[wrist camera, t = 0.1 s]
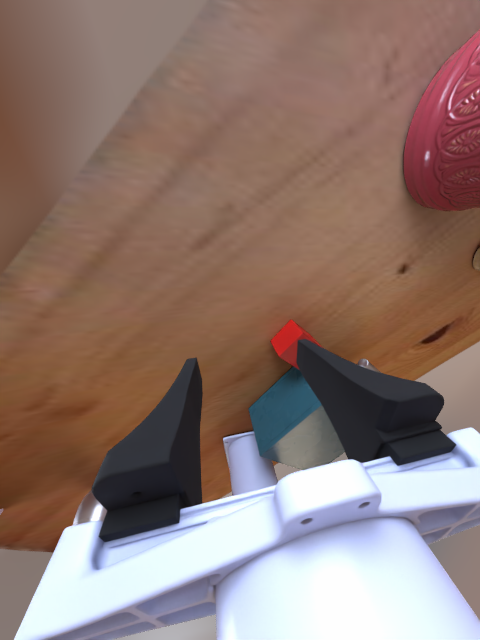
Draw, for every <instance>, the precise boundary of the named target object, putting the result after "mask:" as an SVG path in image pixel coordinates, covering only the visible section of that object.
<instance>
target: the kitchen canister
mask: <svg viewBox="0 0 480 640" xmlns="http://www.w3.org/2000/svg"><path fill="white" fill-rule="evenodd" d="M404 176H405V181H406V185H407V188H408V190H409V192H410V194H411V196H412V197H413V199H414V200H415V201H416V202H417V203H419V204H420V205H422V206H424V207H426V208H431V209H437V210H441V211H462V210H468V209H471V208H480V30H479V31H477V32H476V33H475V34H474V35H473V36H472V37H471V38H470V39H469V40H468V41H467V42H466V43H465V44H464V45H463V46H462V47H460V48H459V49H458V50H457V51H456V52H455V53H454V54H453V55H452V56H451V57H450V58H449V59H448V60H447V61H446V62H445V64H444V65H443V66H442V67H441V68H440V70H439V71H438V72H437V74H436V75H435V77H434V78H433V79H432V81H431V83H430V84H429V86H428V87H427V89H426V91H425V93H424V94H423V96H422V98H421V100H420V102H419V104H418V107H417V109H416V111H415V114H414V116H413V119H412V122H411V125H410V128H409V131H408V135H407V140H406V145H405V151H404Z"/></svg>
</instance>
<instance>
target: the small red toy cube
mask: <svg viewBox="0 0 480 640" xmlns="http://www.w3.org/2000/svg"><path fill="white" fill-rule="evenodd" d="M301 339H307V340H309V341H311V342H313V343H315V344H317V345H318V346H320V347H321V345H320V344H319V343H318V342H317V341H316V340H315V339H314V338H313V337H312V336H311V335H310V334H309V333H308V332H306V331H305V330H304V329H303V328H301V327H300V326H299V325H298V324H296V323H295V322H294V321H293V320H290V321H289V322H288V323H287V324H286V325H285V326H284V327H283V328H282V329H281V330H280V331H279V333H278V334H277V335H276V336H275V337H274V338H273V339H272V340H271V341H270V342H271V343H272V345H273V347H274V349H275V351H276V352H277V354H278V356H279V357H280V358H282V359H283V360H285V361H286V362H288V363H289V364H291V365H292V366H294V367H296V368H297V369H299V367H298V365H297V363H296V359H297V343H298V340H301ZM299 370H300V369H299Z"/></svg>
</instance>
